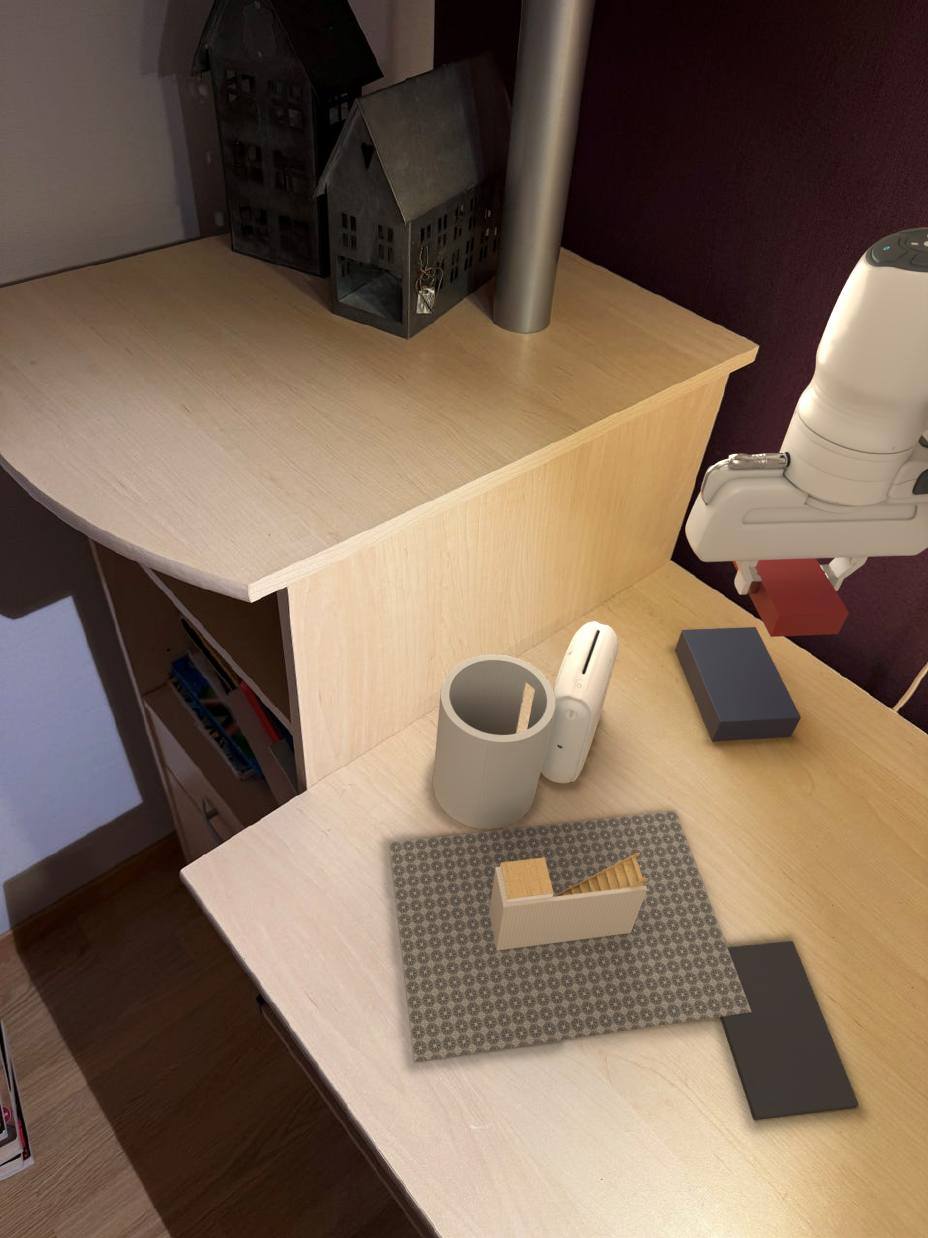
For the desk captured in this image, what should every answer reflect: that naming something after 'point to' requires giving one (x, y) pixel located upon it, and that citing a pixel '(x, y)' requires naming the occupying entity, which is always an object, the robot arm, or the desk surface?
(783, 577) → the burgundy notebook
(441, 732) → the cup
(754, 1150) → the desk surface
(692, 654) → the navy hardback
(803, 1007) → the felt pad
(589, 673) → the photo printer
